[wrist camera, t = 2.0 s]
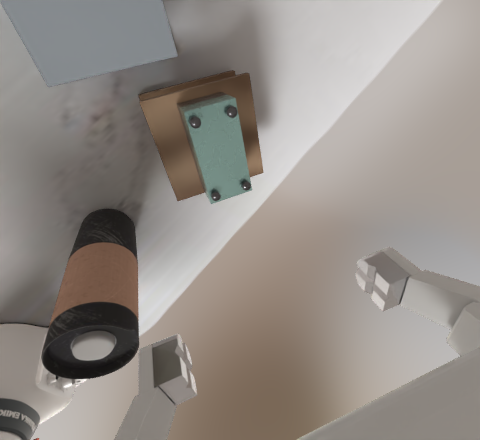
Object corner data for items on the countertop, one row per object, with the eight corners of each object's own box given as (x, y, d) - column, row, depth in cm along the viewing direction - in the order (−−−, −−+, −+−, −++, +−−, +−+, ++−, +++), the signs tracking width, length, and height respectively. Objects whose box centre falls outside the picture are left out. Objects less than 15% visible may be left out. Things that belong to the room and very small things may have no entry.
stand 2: (247, 158, 40) (263, 172, 35) (172, 182, 38) (177, 201, 33) (232, 70, 33) (249, 73, 28) (138, 94, 31) (139, 102, 26)
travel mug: (68, 237, 37) (20, 376, 21) (96, 197, 35) (67, 314, 20) (119, 257, 41) (111, 383, 26) (146, 221, 40) (156, 333, 24)
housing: (238, 173, 34) (253, 192, 30) (201, 185, 33) (212, 206, 29) (221, 91, 28) (237, 98, 24) (176, 103, 27) (184, 113, 23)
